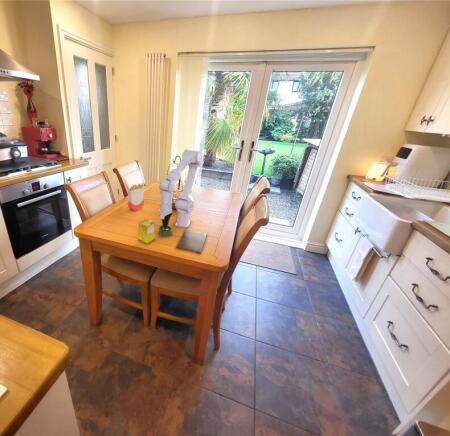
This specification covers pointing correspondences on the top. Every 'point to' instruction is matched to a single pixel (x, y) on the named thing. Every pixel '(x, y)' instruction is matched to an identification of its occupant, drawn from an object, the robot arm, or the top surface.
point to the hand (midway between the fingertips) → (165, 225)
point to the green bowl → (165, 233)
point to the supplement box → (146, 231)
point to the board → (192, 241)
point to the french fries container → (136, 197)
